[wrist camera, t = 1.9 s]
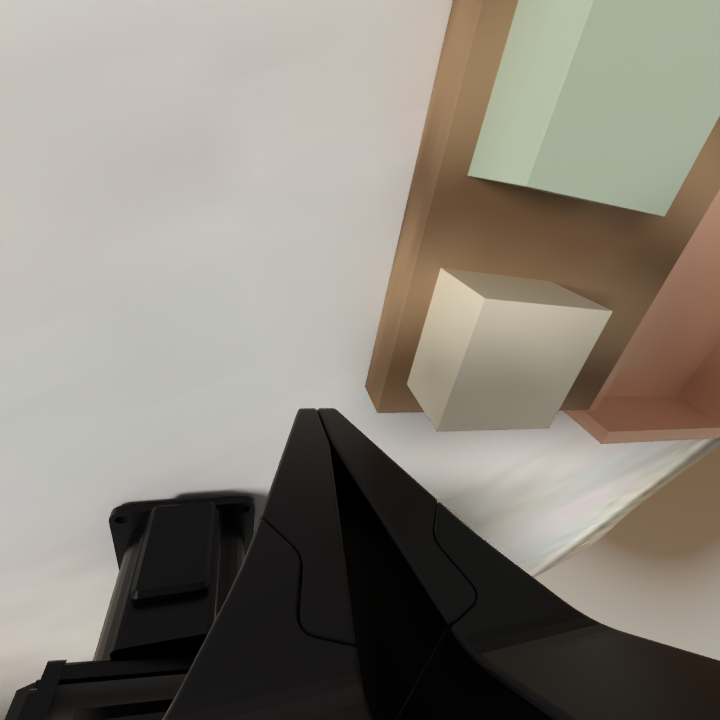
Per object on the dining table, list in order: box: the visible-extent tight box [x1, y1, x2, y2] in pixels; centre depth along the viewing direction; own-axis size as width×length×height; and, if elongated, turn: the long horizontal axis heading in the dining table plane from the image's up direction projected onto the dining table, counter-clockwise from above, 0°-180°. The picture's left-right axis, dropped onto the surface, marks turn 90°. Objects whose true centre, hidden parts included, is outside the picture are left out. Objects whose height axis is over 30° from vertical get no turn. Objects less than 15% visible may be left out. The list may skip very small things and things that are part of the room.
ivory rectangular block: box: [407, 268, 613, 432], centre depth 14 cm, size 5×5×3 cm
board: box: [365, 0, 720, 413], centre depth 15 cm, size 16×12×2 cm
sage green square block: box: [468, 0, 720, 217], centre depth 10 cm, size 5×5×3 cm
